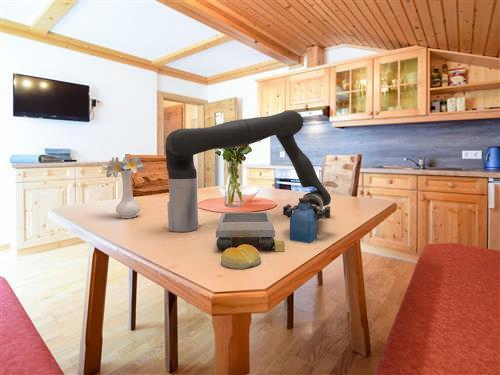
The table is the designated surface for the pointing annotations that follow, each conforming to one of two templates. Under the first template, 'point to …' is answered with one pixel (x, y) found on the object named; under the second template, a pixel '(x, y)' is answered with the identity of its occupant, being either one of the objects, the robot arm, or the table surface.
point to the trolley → (247, 229)
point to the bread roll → (240, 257)
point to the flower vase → (125, 183)
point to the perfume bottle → (303, 223)
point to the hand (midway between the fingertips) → (303, 215)
